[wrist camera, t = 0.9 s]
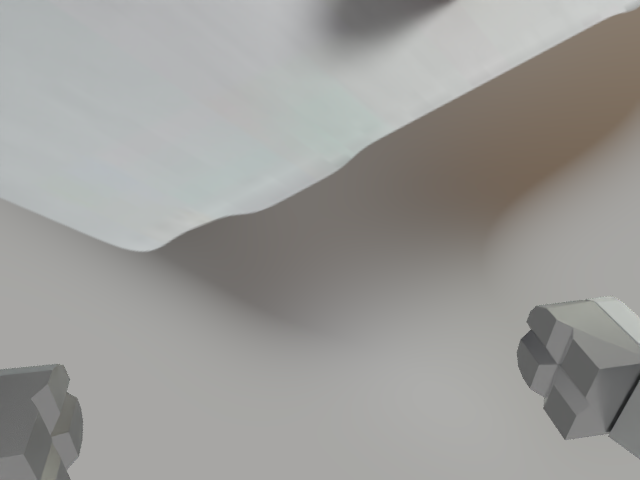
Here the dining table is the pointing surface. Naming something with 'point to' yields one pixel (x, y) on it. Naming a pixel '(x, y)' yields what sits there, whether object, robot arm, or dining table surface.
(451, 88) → the dining table surface
